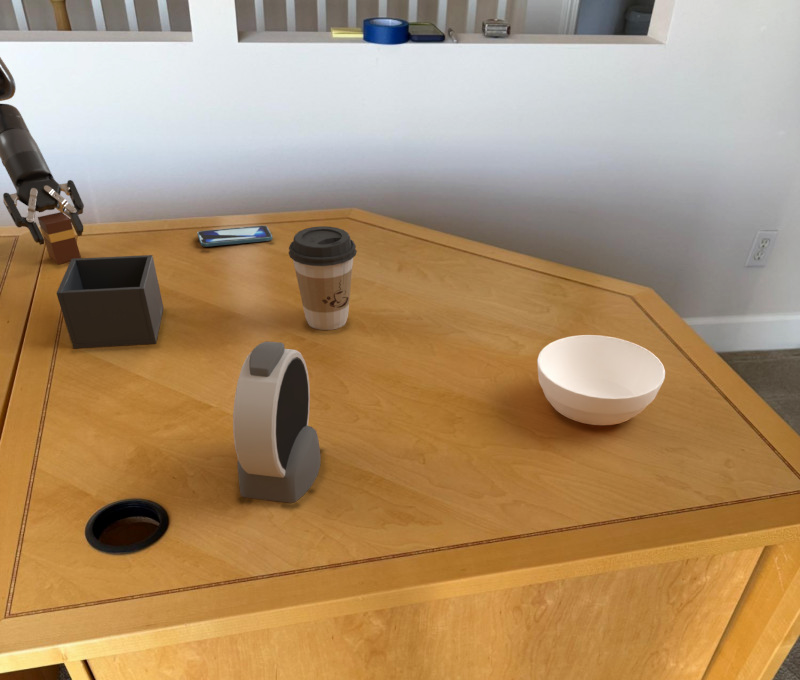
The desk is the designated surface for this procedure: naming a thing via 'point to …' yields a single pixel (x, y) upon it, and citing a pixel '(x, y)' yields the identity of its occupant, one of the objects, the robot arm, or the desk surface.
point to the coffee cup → (324, 274)
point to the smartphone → (234, 235)
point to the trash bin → (111, 301)
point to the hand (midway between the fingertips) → (61, 238)
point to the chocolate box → (59, 237)
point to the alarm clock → (274, 425)
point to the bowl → (599, 378)
